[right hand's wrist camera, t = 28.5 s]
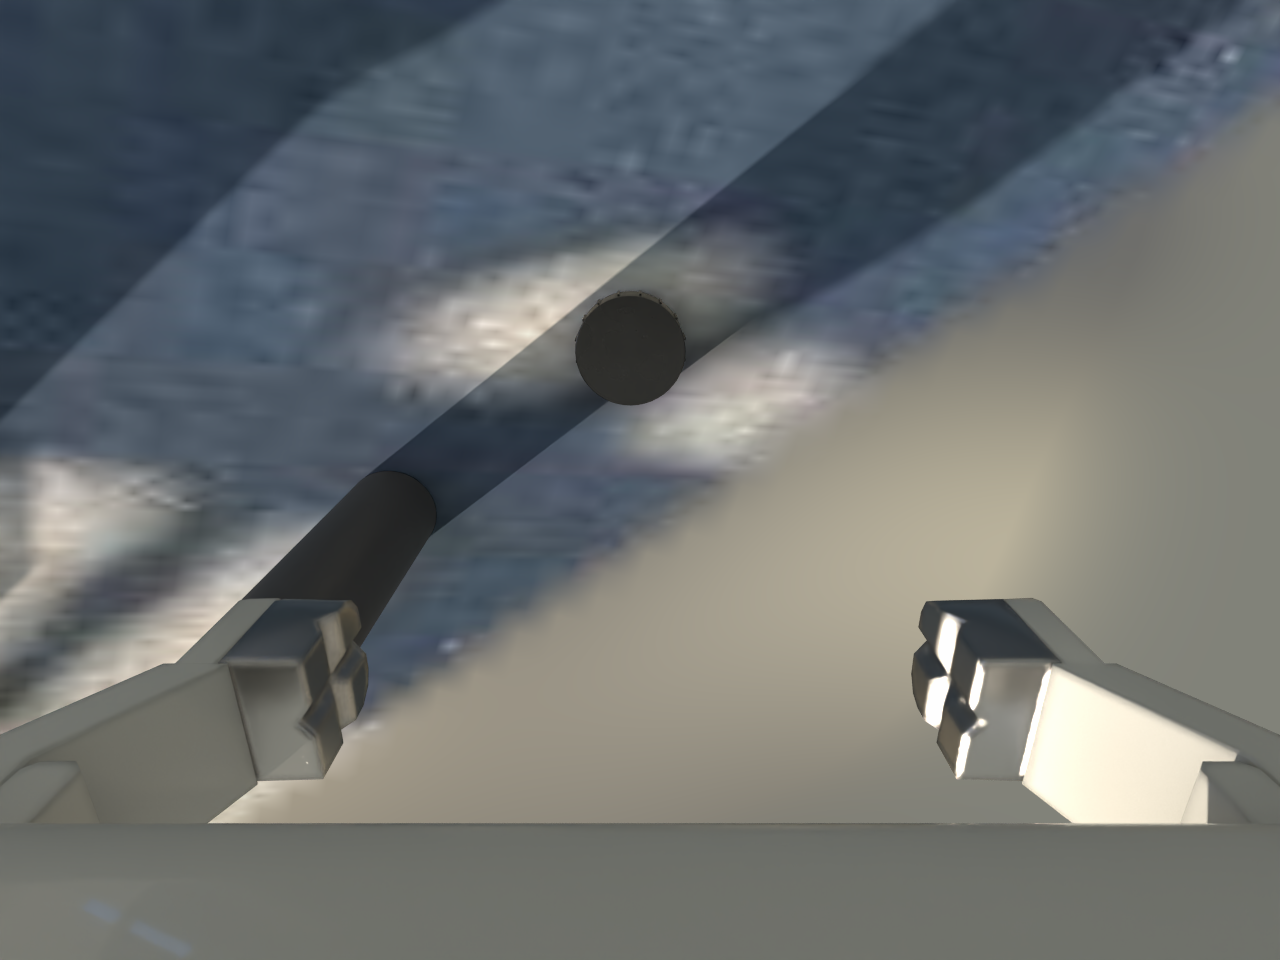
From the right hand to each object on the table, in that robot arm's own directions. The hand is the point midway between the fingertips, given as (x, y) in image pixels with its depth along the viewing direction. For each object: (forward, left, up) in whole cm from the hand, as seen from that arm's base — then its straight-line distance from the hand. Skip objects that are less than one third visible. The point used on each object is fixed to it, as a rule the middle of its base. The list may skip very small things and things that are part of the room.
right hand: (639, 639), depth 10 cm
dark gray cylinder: (+16, 0, -26) cm, 31 cm away
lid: (+1, 0, -25) cm, 25 cm away
